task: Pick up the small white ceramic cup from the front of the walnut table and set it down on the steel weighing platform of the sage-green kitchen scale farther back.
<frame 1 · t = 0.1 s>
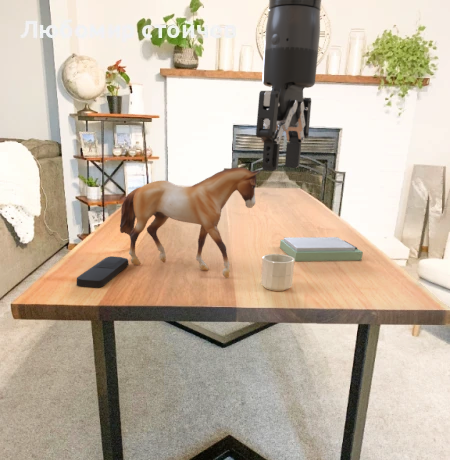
hand: (281, 168, 68), 22 cm above the table, tool pointing down, fingers open, 8 cm apart
remote control: (104, 275, 86), on the table
scale: (319, 253, 106), on the table
white ceramic cup: (276, 286, 83), on the table
horse figurine: (183, 265, 94), on the table
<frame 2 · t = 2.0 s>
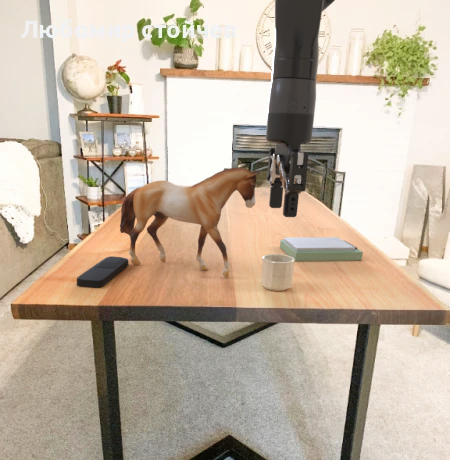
hand: (281, 212, 77), 14 cm above the table, tool pointing down, fingers open, 8 cm apart
nothing on the table moved.
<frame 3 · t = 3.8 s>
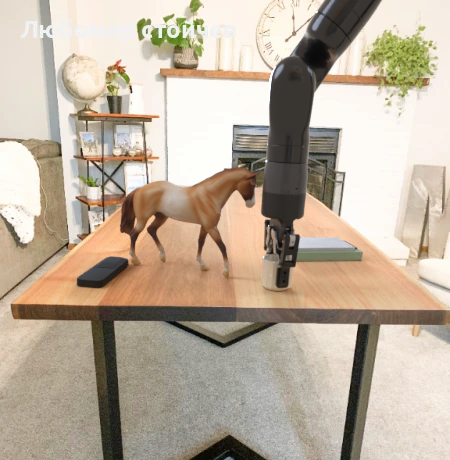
hand: (276, 281, 82), 1 cm above the table, tool pointing down, fingers closed on white ceramic cup, 6 cm apart
white ceramic cup: (276, 286, 83), on the table, touching gripper
everything else where it was.
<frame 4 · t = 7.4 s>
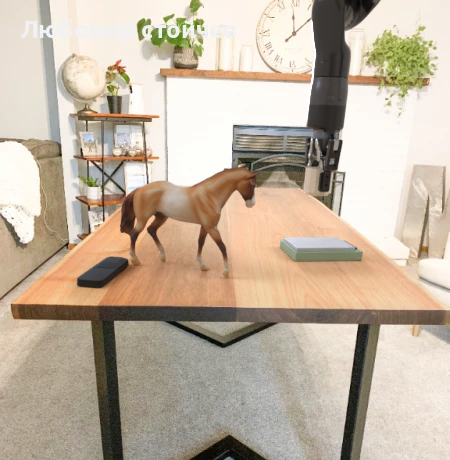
hand: (317, 189, 95), 16 cm above the table, tool pointing down, fingers closed on white ceramic cup, 6 cm apart
white ceramic cup: (316, 194, 95), point 15 cm above the table, touching gripper
everything else where it was.
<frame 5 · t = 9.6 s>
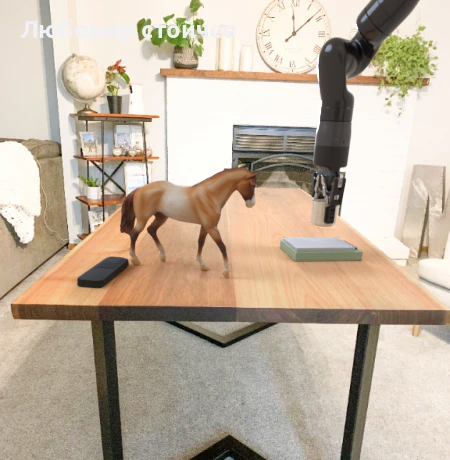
hand: (323, 220, 103), 8 cm above the table, tool pointing down, fingers closed on white ceramic cup, 6 cm apart
white ceramic cup: (322, 224, 103), point 7 cm above the table, touching gripper
everything else where it was.
when the fingers open (4 cm above the table, at t = 11.2 s): white ceramic cup stays where it is, resting on scale.
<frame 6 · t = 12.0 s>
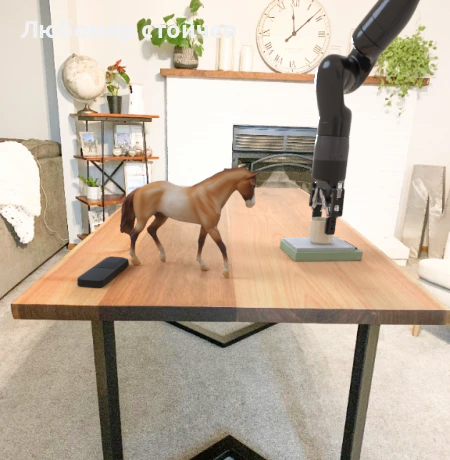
hand: (322, 230, 104), 6 cm above the table, tool pointing down, fingers open, 8 cm apart
white ceramic cup: (320, 242, 105), point 3 cm above the table, touching scale
everything else where it was.
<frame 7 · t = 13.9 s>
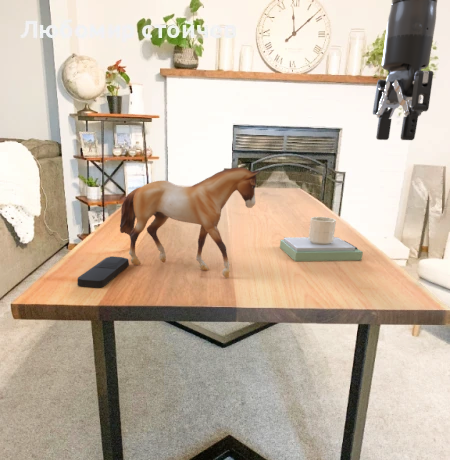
hand: (394, 139, 79), 26 cm above the table, tool pointing down, fingers open, 8 cm apart
nothing on the table moved.
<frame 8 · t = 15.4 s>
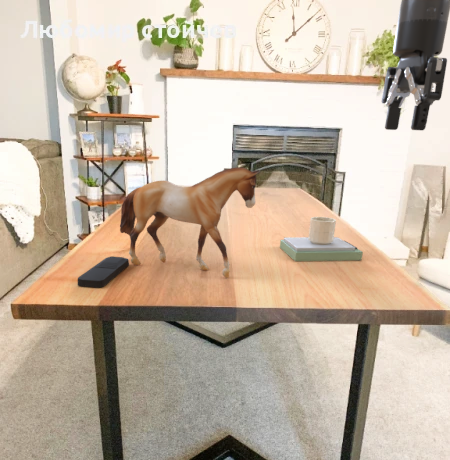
hand: (403, 129, 77), 28 cm above the table, tool pointing down, fingers open, 8 cm apart
nothing on the table moved.
at the end: white ceramic cup inside the target area on the scale (0.5 cm from its centre), point 2.8 cm above the scale's base; white ceramic cup tilted 0°; the gripper is holding nothing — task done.
